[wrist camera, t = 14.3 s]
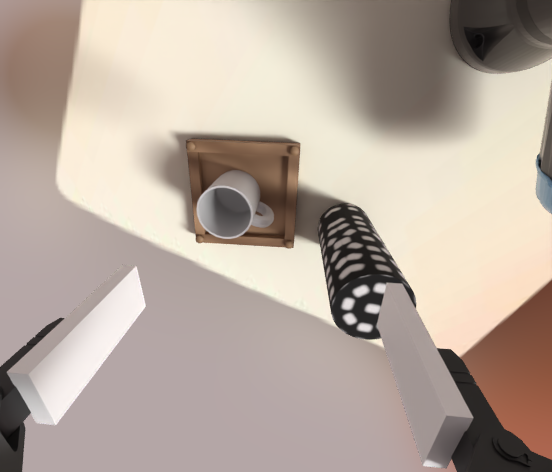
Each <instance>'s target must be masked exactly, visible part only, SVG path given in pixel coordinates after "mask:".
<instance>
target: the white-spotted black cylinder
mask: <svg viewBox="0 0 552 472" xmlns="http://www.w3.org/2000/svg"><path fill="white" fill-rule="evenodd" d="M318 235H319V241H320V247H321V253H322V259H323V265H324V271H325V277H326V284H327V290H328V296H329V302H330V308H331V314H332V317H333V320H334V322H335V324H336V325H337V326H338V327H339V328H340V329H341V330H342V331H343V332H345V333H346V334H348V335H350V336H352V337H356V338H360V339H380V338H381V335H380V332H379V329H378V326H377V322H378V318H379V314H380V309H381V305H382V301H383V297H384V292H385V288H386V284H387V283H399V284H403V286H404V288H405V290H406V291H407V293H408V295H409V297H410V299H411V301H412V303H413V305H414V307H415V308H416V298H415V295H414V293H413V291H412V289H411V287H410V286H409V284H408V282H407V281H406V279H405V277H404V276H403V274H402V273H401V271H400V269H399V268H398V266H397V264H396V263H395V261H394V259H393V258H392V256H391V254H390V253H389V251H388V249H387V248H386V246H385V245H384V243H383V241H382V240H381V238H380V236H379V235H378V233H377V231H376V230H375V228H374V226H373V225H372V223H371V221H370V220H369V218H368V217H367V215H366V214H365V212H364V211H363V210H362V209H361V208H359V207H357V206H355V205H352V204H339V205H336V206H333V207H331V208H330V209H328V210H327V211H326V212H325V213H324V214H323V215H322V217H321V218H320V221H319V223H318Z"/></svg>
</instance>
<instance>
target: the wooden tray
mask: <svg viewBox="0 0 552 472" xmlns="http://www.w3.org/2000/svg"><path fill="white" fill-rule="evenodd" d="M186 148H187V154H188V164H189V174H190V184H191V194H192V204H193V213H194V223H195V233H196V242H198V243H202V242H204V243H221V244H238V245H254V246H271V247H286V248H293V246H294V231H295V216H296V202H297V187H298V172H299V158H300V143H285V142H262V141H239V140H216V139H189V140H186ZM231 170H240V171H244V172H246V173H248V174H250V175H251V176H252V177H253V178H254V179H255V180H256V182H257V183H258V185H259V189H260V202H262V203H264V204H266V205H267V206H269V207H270V208H271V209H272V211H273V213H274V220H273V222H272V224H270V225H269V226H268V227H265V228H260V227H256V226H253V225H251V226H250V227H249V229H248V230H247V231H246V232H245V233H244V234H243V235H241V236H239V237H237V238H232V239H223V238H219V237H216V236H214V235H212V234H210V233H209V232H208V231H206V230H205V229H204V228H203V226H202V225H201V223H200V222H199V219H198V216H197V209H196V208H197V202H198V200H199V198H200V196H201V195H202V194H203V193H204V192H205V191H206V190H207V189H208V188H209V187H210V186H211V185H212V184H213V183H214V182H215V181H216V180H217V179H218V178H219V177H220V176H221V175H222V174H224V173H226V172H227V171H231ZM255 214H256V215H259V216H263V215H262V214H261V213H259V212H257V211H256V212H255Z"/></svg>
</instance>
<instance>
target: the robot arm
mask: <svg viewBox="0 0 552 472" xmlns="http://www.w3.org/2000/svg"><path fill="white" fill-rule="evenodd" d="M450 30H451V36H452V39H453V42H454V45H455V47H456V50H457V51H458V53H459V54H460V56H461V57H462V58H463V60H464V61H465V62H467V63H468V64H469V65H470V66H472V67H473V68H475V69H477V70H480V71H482V72H486V73H494V74H501V73H510V72H517V71H522V70H526V69H529V68H532V67H535V66H537V65H540V64H542V63H544V62H546V61H548V60H549V59H551V58H552V0H452V2H451V8H450ZM536 168H537V171H538V172H537V182H536V195H537V198H538V199H539V200H540V202H541V204H542V206H543V207H544V208H545V209H546V210H547V211H548V212H549V213H551V214H552V83H551V89H550V95H549V101H548V107H547V113H546V119H545V125H544V131H543V137H542V143H541V149H540V153H539V154H538V155H537V159H536ZM145 306H146V305H145V301H144V296H143V292H142V288H141V283H140V279H139V275H138V271H137V266H132V265H122V266H121V267H120V268H119V269H118V270H117V271H115V272H114V273H113V274H112V275H111V276H110V277H109V278H108V279H107V280H106V281H105V282H104V283H103V284H101V285H100V286H99V287H98V288H97V289H96V290H95V291H94V292H93V293H92V294H91V295H90V296H89V297H87V298H86V299H85V300H84V301H83V302H82V303H81V304H80V305H79V306H78V307H77V308H75V309H74V310H73V311H72V312H71V313H70V314H69V315H68V316H67V317H66V318H59V319H57V320H56V321H54V322H52V323H51V324H49V325H47V326H46V327H45V328H44V329H42V330H41V331H40V332H39V333H38V334H37V335H36V337H35V338H34V337H33V338H32V339H31V340H30V341H29V342H28V343H27V345H26V346H23V347H22V348H21V349H20V350H19V351H18V352H16V353H15V354H14V355H13V356H12V357H11V358H10V359H9V360H8V361H6V362H5V363H4V364H3V365H2V366H1V367H0V472H22V464H23V452H24V439H25V426H24V423H23V421H24V420H25V419H26V418H27V417H28V415H29V414H30V413H31V415H32V416H33V418H34V420H35V422H36V423H41V424H51V425H56V424H57V423H58V421H59V420H60V419H61V418H62V416H63V415H64V414H65V412H66V411H67V410H68V408H69V407H70V406H71V404H72V403H73V402H74V400H75V399H76V398H77V396H78V395H79V394H80V392H81V391H82V390H83V388H84V387H85V386H86V385H87V383H88V382H89V381H90V379H91V378H92V377H93V375H94V374H95V373H96V371H97V370H98V369H99V367H100V366H101V365H102V363H103V362H104V361H105V359H106V358H107V357H108V355H109V354H110V353H111V351H112V350H113V349H114V347H115V346H116V345H117V344H118V342H119V341H120V340H121V338H122V337H123V336H124V334H125V333H126V332H127V330H128V329H129V328H130V326H131V325H132V324H133V322H134V321H135V320H136V318H137V317H138V316H139V314H140V313H141V312H142V311H143V309H144V308H145ZM377 326H378V329H379V332H380V335H381V338H382V341H383V344H384V347H385V350H386V354H387V356H388V360H389V363H390V366H391V369H392V372H393V375H394V378H395V381H396V384H397V388H398V391H399V393H400V397H401V400H402V403H403V406H404V409H405V412H406V415H407V418H408V422H409V425H410V428H411V430H412V434H413V437H414V440H415V443H416V446H417V449H418V453H419V456H420V458H421V462H422V465H423V466H429V467H439V468H447V466H448V464H449V462H450V461H451V459H452V460H453V463H454V465H455V468H456V470H457V472H552V460H550V459H548V458H546V457H543V456H541V455H538V454H536V453H534V452H532V451H530V449H529V448H528V447H527V446H526V445H525V444H524V443H523V441H522V440H520V439H519V438H518V437H517V436H515V435H514V434H513V433H511V432H509V431H507V430H505V429H504V428H503V426H502V425H501V423H500V422H499V420H498V418H497V417H496V415H495V413H494V412H493V410H492V408H491V407H490V405H489V404H488V402H487V400H486V398H485V397H484V395H483V393H482V392H481V390H480V388H479V387H478V386H477V385H476V382H475V381H474V379H473V377H472V375H470V372H469V370H468V369H467V367H466V365H465V364H464V362H463V361H462V359H460V358H459V357H458V356H457V355H456V354H455V353H454V352H453V351H452V350H451V349H439V348H436V346H435V344H434V342H433V340H432V339H431V337H430V335H429V333H428V331H427V329H426V327H425V325H424V324H423V322H422V320H421V318H420V316H419V314H418V312H417V310H416V308H415V307H414V305H413V303H412V301H411V299H410V297H409V295H408V293H407V291H406V290H405V288H404V286H403V284H399V283H387V284H386V288H385V292H384V297H383V301H382V305H381V309H380V314H379V318H378V322H377Z"/></svg>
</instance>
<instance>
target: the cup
mask: <svg viewBox="0 0 552 472" xmlns="http://www.w3.org/2000/svg"><path fill="white" fill-rule="evenodd" d="M196 209H197V216H198V219H199V222H200V223H201V225H202V226H203V228H204V229H205V230H206V231H208V232H209V233H210V234H212V235H214V236H216V237H219V238H223V239H232V238H237V237H239V236H241V235H243V234H244V233H245V232H246V231H247V230H248V229H249V227H250V226H251V225H253V226H256V227H260V228H265V227H268V226H269V225H270V224H272V222H273V220H274V213H273V211H272V209H271V208H270V207H269V206H267V205H266V204H264V203H262V202H260V189H259V185H258V183H257V182H256V180H255V179H254V178H253V177H252V176H251V175H250V174H248V173H246V172H244V171H240V170H231V171H227V172H226V173H224V174H222V175H221V176H220V177H219V178H218V179H217V180H216V181H215V182H214V183H213V184H212V185H211V186H210V187H209V188H208V189H207V190H206V191H205V192H204V193H203V194H202V195H201V196H200V198H199V200H198V202H197V208H196ZM256 211H257V212H259V213H261V214H262V215H263V216H259V215H256V214H255V212H256Z"/></svg>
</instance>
